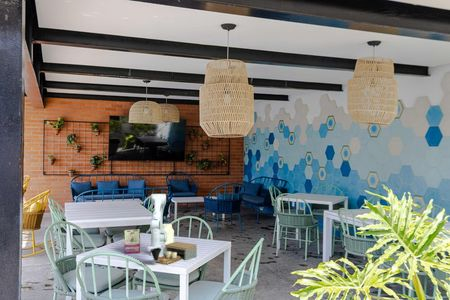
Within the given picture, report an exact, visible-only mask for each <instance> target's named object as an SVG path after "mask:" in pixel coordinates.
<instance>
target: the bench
mask: <svg viewBox="0 0 450 300" xmlns="http://www.w3.org/2000/svg"><path fill="white" fill-rule="evenodd" d="M197 246H198V245H197V244H195V243H188V242H181V241H174V242H173V243H170V244H167V245H165V255H166V251H171V253H172V252H177V255H181V256H184V261H189V260H191V259H193V258H197V256H198V255H197V253H198V251H197V250H198V248H197Z"/></svg>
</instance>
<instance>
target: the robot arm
mask: <svg viewBox="0 0 450 300" xmlns="http://www.w3.org/2000/svg"><path fill="white" fill-rule="evenodd" d="M150 200H151V201H150V202H151V205H153V206H154V210H153V212H152V215H151V220H150V223H149V228H150V232H151V233H150V235H151V236H150V243H151V244H150V246H148V247H146V251H147V252H150V255H149V256H151V257H153V261H154V262H155V261H157V260H158V258H159V257H162V256H165V242H166V241H167V234H166V230H164V229H163V228H162V224H163V208H164V206H165V205H167V204H166V203H167V194H166V193H151V196H150Z"/></svg>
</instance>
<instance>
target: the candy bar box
mask: <svg viewBox="0 0 450 300" xmlns="http://www.w3.org/2000/svg"><path fill="white" fill-rule="evenodd" d="M123 238H124V239H123V240H124V241H123V242H124V243H123V246H124V247H123V249H124V250H123V251H124V255H126V254H127V255H129V254H140V253H141V229H139V228H138V229H135V228H134V229H124V231H123Z"/></svg>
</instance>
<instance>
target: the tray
mask: <svg viewBox="0 0 450 300" xmlns="http://www.w3.org/2000/svg"><path fill="white" fill-rule="evenodd" d="M178 261H181V256H180V255H178V254H177V252H172V253H171V251H166V255H165V256H162V257H158V260H157V261H155V260H154V263H155V264H160V265H166V266H168V265H170V264H174V263H176V262H178Z"/></svg>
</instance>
